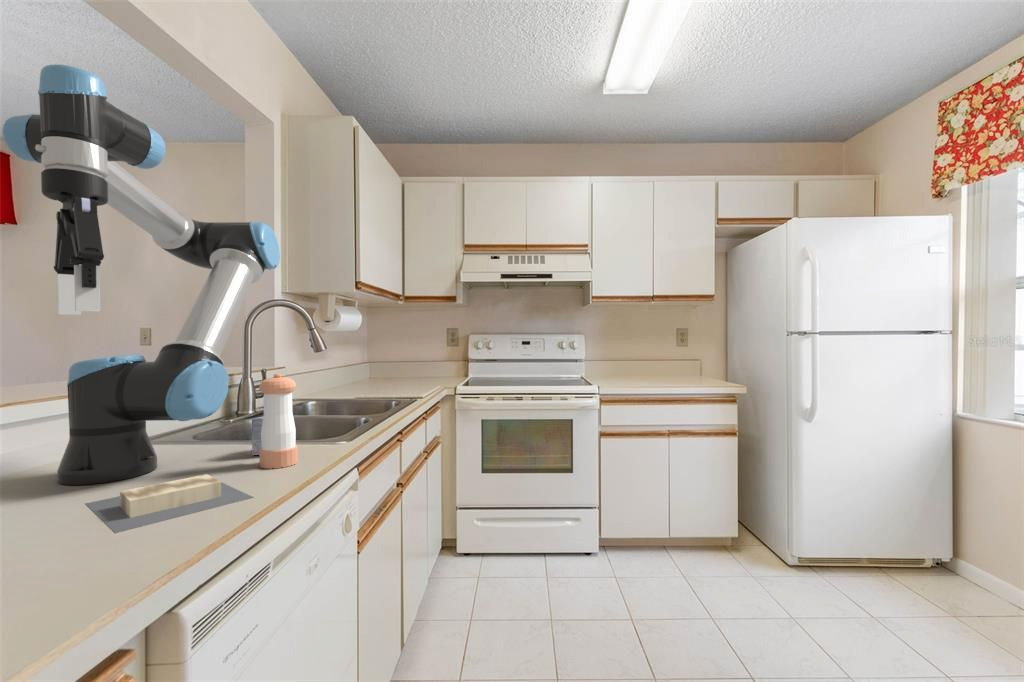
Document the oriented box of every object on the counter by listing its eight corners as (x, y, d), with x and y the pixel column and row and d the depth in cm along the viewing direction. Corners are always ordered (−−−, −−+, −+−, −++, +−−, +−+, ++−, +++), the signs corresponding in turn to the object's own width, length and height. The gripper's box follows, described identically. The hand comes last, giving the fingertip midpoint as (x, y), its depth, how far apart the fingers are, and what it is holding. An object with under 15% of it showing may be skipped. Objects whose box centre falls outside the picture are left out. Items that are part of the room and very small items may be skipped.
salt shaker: (288, 457, 106) (286, 371, 106) (304, 463, 102) (302, 373, 101) (253, 465, 101) (252, 374, 100) (269, 470, 96) (267, 375, 96)
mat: (85, 505, 77) (85, 503, 77) (210, 478, 91) (210, 477, 91) (115, 535, 65) (115, 532, 65) (253, 499, 79) (253, 497, 79)
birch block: (120, 491, 75) (207, 474, 84) (120, 507, 75) (207, 488, 84) (129, 500, 70) (220, 481, 79) (130, 517, 70) (221, 496, 79)
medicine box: (268, 457, 107) (268, 418, 107) (251, 456, 108) (250, 418, 108) (291, 448, 115) (291, 413, 115) (275, 448, 116) (274, 412, 116)
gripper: (29, 185, 78) (31, 315, 78) (56, 145, 62) (59, 308, 63) (89, 195, 84) (92, 316, 84) (128, 161, 68) (131, 310, 68)
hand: (78, 313), depth 73 cm, fingers open, 13 cm apart
